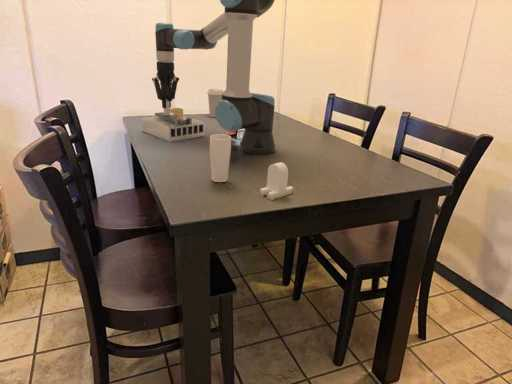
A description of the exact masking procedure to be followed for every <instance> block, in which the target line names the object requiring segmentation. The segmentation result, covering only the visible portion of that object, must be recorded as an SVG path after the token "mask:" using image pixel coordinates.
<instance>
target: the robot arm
mask: <svg viewBox="0 0 512 384" xmlns="http://www.w3.org/2000/svg"><path fill="white" fill-rule="evenodd" d="M219 2H220V4H221V5H222V6H223V7H224V12H223V13H222V14H220V15H219V16H218V17H216V18H215V19H214V20H212V21H210V22H209V23H208V24H207V25H205V26H204V27H203V28H201V29H199V30H197V29H195V30H194V29H182V28H181V29H180V28H174V24H173V23H168V22H167V23H166V22H157V23H155V32H154V34H155V35H154V36H155V50H156V52H155V55H156V71H157V72H156V76H155V77H152V78H151V81H152V82H153V85H154V88H155V89H154V90H155V93H156V96H157V100H159V101H161V106H162V107H161V108H162V109H163V113H164V115H166V116H169V115H171V113H170V109H172V101H173V100H175V98H176V92H177V87H178V83H179V81H180V78H179V77H177V76H176V75H175V73H174V72H175V63H174V61H175V49H178V50H181V51H182V50H206V51H207V50H212V49H214V48H216V45H217V43H218V41H219V40H221V39H222V38H224V37H225V36H227V54H226V55H227V57H226V58H227V59H226V80H225V81H226V83H225V90H223V93H222V100H221V101H219V102H218V103H217V105H216V107H215V116H216V121H217V123H218V124H219V126H220V127H221V128H222V129H223V130H225V131H228V132H230V131H231V132H232V131H234V132H236V131H239V130H244V132H243V135H242V138H241V141H240V143H239V150H240V151H242V152H244V153H246V154H250V155H251V154H253V155H269V154H273V153H275V152H276V146H277V145H276V143H275V139H274V132H273V130H274V118H275V108H276V106H275V101H276V100H275V98H274V97H273V96H271V95H266V94H262V93H255V92H254V93H253V92H251V91H250V80H251V77H250V76H251V63H252V46H253V30H254V29H253V27H254V21H255V20H256V18H259V17H260V16H262V15H263V14H265V13H267V11H269V10H270V9H271V8H272V6H273V5H274V3H275V0H219Z"/></svg>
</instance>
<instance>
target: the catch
mask: <svg viewBox="0 0 512 384" xmlns="http://www.w3.org/2000/svg"><path fill="white" fill-rule="evenodd" d="M170 114H173V115H175V116H184V108H180V107H173V108H170Z"/></svg>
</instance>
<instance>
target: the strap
mask: <svg viewBox="0 0 512 384" xmlns="http://www.w3.org/2000/svg"><path fill="white" fill-rule="evenodd" d="M154 116H158V117H161V118H164V119H167V120H170V121H173V122H175V119H179V120H180V125H183V124H188V120H183V119H180V118H177V117H175V116H172V115H171V114H170V115H169V116H166V115H164V111H162V112H155V113H154Z"/></svg>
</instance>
